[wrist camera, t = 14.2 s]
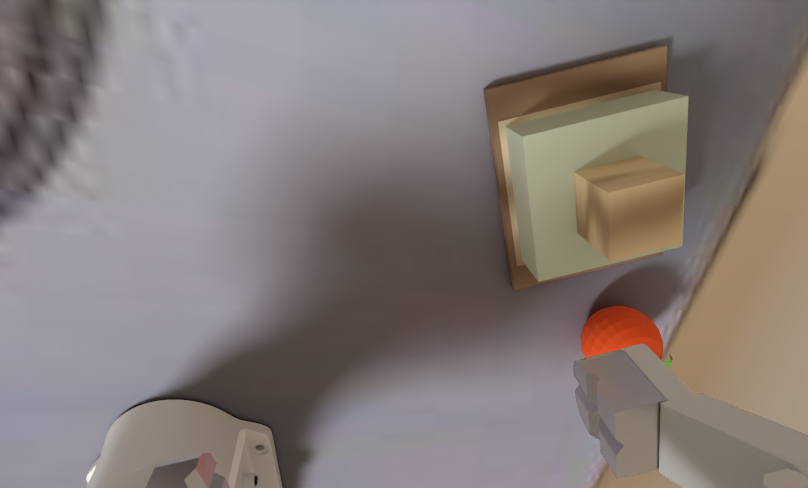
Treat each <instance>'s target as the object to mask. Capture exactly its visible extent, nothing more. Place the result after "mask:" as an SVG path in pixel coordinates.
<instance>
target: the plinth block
mask: <svg viewBox="0 0 808 488" xmlns="http://www.w3.org/2000/svg"><path fill="white" fill-rule="evenodd" d="M688 101H689V96H687V95H681V94H675V93H670V92H664V91H658V90H652V91H648V92H644V93H640V94H636V95H632V96H628V97H624V98H620V99H616V100H612V101H607V102H603V103H599V104H595V105H591V106H587V107H583V108H579V109H575V110H571V111H567V112H563V113H559V114H555V115H550V116H546V117H542V118H538V119H534V120H530V121H526V122H522V123H518V124H514V125H510V126H506V127H505V129H506V137H507V145H508V153H509V161H510V169H511V176H512V184H513V192H514V200H515V208H516V216H517V224H518V232H519V240H520V248H521V256H522V261H523V262H524V263H525V265H526V266H527V267H528V269H529V270H530V271H531V273H532V274H533V275H534V277H535V278H536V279H537V281H538V282H540V281H545V280H549V279H553V278H557V277H561V276H565V275H569V274H573V273H577V272H581V271H585V270H589V269H593V268H597V267H601V266H606V265H610V264H614V263H618V262H622V261H626V260H630V259H634V258H638V257H642V256H646V255H650V254H654V253H658V252H662V251H666V250H671V249H675V248H679V247H683V222H684V198H685V174H686V149H687V125H688ZM637 156H641V157H644V158H646V159H649V160H651V161H653V162H656V163H658V164H661V165H663V166H665V167H668V168H670V169H673V170H675V171H677V172H680V173H682V174H684V194H683V217H682V240H681V244H679V245H675V246H671V247H667V248H663V249H659V250H654V251H650V252H646V253H642V254H638V255H634V256H630V257H626V258H622V259H617V260H613V261H609V260H608V259H607V258H605V257H604V256H603V255H602V254H601V253H600V252H599V251H597V250H596V249H595V248H594V247H593V246H592V245H591V244H589V243H588V242H587V241H586V240H585V239H584V238H583V237H581V236H580V235H579V234H578V233H577V219H576V203H575V187H574V172H575V171H580V170H584V169H588V168H592V167H596V166H600V165H604V164H608V163H613V162H617V161H621V160H625V159H629V158H633V157H637Z"/></svg>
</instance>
